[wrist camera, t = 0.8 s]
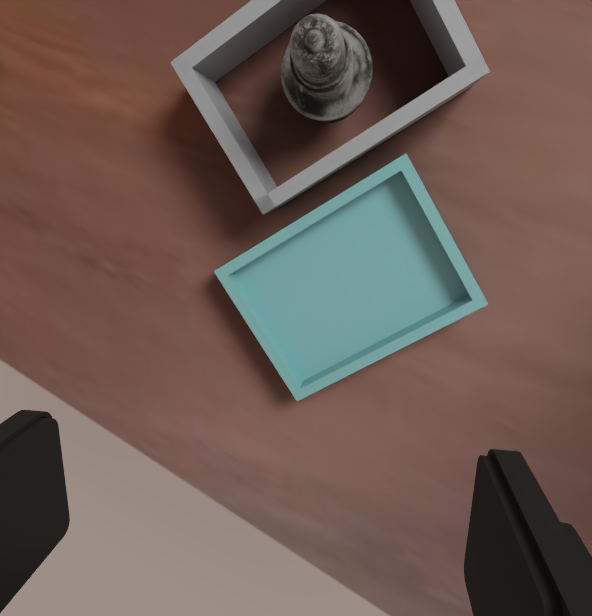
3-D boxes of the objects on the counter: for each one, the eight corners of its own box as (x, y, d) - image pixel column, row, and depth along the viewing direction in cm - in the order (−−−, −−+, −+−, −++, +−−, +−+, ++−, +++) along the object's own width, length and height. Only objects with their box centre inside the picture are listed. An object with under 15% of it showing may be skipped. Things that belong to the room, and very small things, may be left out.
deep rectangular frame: (393, -69, 32) (398, -113, 27) (471, 86, 33) (489, 71, 29) (196, 77, 36) (170, 62, 31) (275, 209, 37) (262, 214, 32)
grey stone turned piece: (367, 28, 33) (369, -50, 22) (375, 119, 35) (382, 91, 23) (282, 44, 34) (242, -22, 23) (294, 132, 36) (261, 111, 24)
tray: (403, 154, 35) (406, 153, 33) (480, 296, 37) (488, 304, 35) (222, 265, 39) (213, 271, 37) (300, 388, 41) (296, 401, 38)
